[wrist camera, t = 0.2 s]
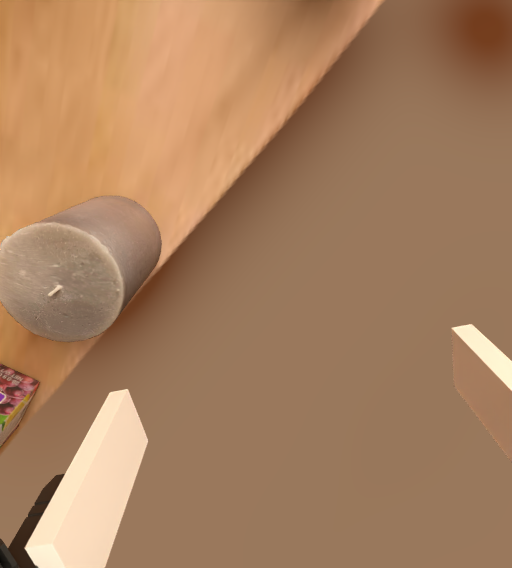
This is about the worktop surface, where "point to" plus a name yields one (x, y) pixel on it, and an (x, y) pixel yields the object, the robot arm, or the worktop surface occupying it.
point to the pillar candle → (78, 267)
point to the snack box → (13, 399)
